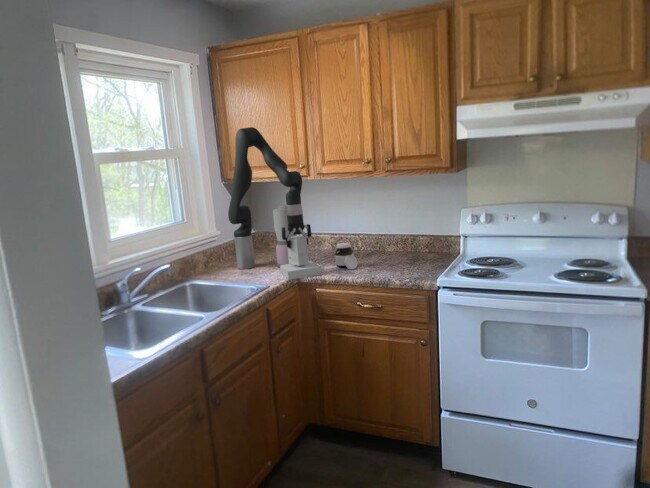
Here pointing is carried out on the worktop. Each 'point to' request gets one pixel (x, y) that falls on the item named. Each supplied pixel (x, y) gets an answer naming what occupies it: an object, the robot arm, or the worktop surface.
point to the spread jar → (345, 256)
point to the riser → (300, 270)
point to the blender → (280, 222)
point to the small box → (298, 251)
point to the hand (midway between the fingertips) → (297, 247)
